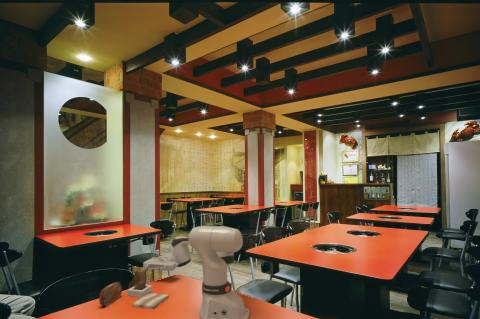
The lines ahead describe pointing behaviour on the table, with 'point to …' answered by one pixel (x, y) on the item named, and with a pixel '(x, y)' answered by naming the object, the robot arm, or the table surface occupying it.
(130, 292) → the holder
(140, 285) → the peg
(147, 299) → the board
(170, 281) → the table surface
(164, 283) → the table surface
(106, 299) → the tin
